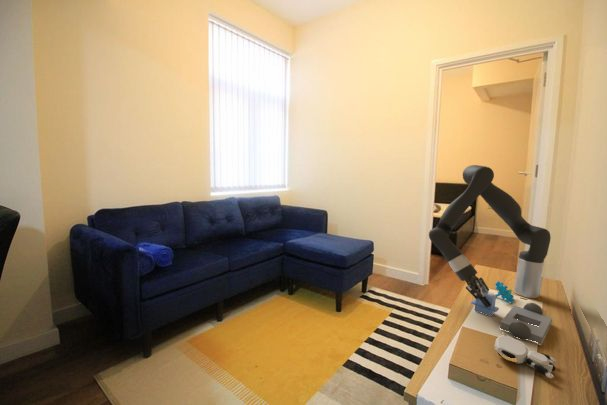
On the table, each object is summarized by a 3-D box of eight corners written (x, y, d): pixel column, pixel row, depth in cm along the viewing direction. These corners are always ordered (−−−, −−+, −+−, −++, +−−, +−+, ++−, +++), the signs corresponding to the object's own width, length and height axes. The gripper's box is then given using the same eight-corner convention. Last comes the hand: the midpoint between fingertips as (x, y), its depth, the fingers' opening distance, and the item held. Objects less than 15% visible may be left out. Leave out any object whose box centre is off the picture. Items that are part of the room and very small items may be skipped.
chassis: (498, 330, 104) (500, 315, 103) (514, 310, 119) (516, 297, 118) (539, 347, 95) (542, 331, 94) (551, 323, 110) (554, 309, 109)
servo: (470, 309, 119) (472, 289, 118) (473, 306, 122) (476, 286, 121) (495, 318, 113) (498, 297, 111) (498, 315, 115) (500, 294, 114)
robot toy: (554, 367, 87) (497, 341, 97) (558, 354, 86) (500, 329, 96) (551, 388, 78) (489, 357, 88) (555, 374, 77) (492, 345, 88)
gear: (508, 303, 122) (494, 281, 128) (495, 307, 126) (482, 286, 132) (520, 301, 128) (506, 280, 133) (508, 305, 132) (495, 285, 137)
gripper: (463, 267, 115) (493, 306, 108) (475, 260, 125) (504, 296, 117) (448, 275, 120) (476, 313, 113) (461, 268, 129) (488, 303, 122)
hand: (490, 304), depth 115 cm, fingers open, 4 cm apart
